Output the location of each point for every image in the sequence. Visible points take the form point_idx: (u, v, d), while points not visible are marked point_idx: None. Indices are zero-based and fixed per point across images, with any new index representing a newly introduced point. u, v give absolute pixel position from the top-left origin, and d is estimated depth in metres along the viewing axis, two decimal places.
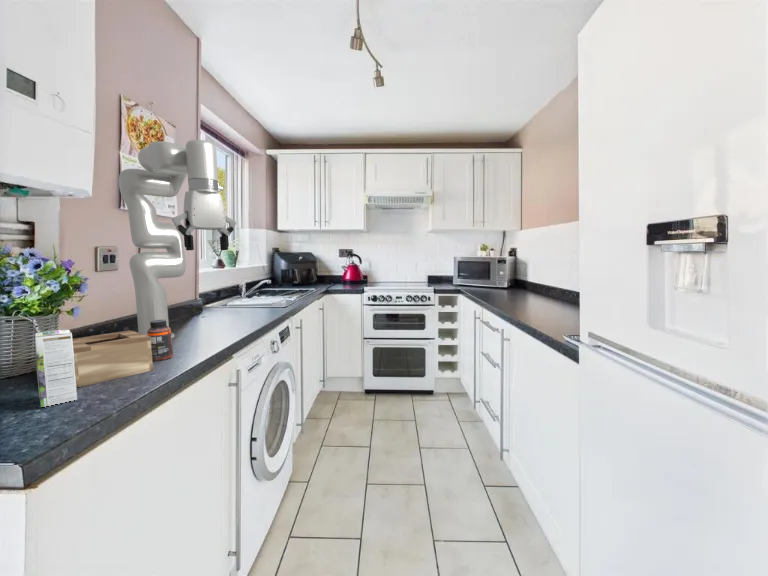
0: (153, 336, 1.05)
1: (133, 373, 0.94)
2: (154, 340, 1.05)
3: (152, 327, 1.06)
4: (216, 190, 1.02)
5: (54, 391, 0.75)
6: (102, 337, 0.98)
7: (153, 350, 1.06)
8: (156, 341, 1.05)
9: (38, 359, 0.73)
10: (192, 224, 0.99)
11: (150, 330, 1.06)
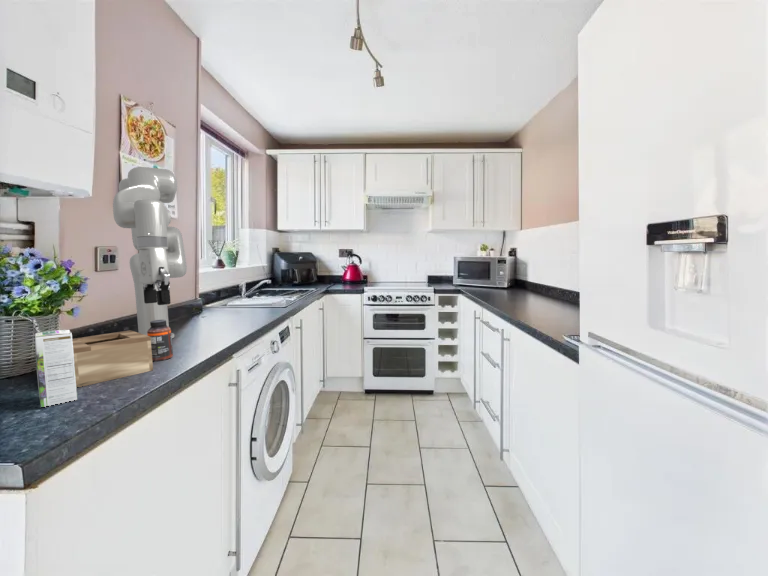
0: (153, 336, 1.05)
1: (133, 373, 0.94)
2: (154, 340, 1.05)
3: (152, 327, 1.06)
4: None
5: (54, 391, 0.75)
6: (102, 337, 0.98)
7: (153, 350, 1.06)
8: (156, 341, 1.05)
9: (38, 359, 0.73)
10: None
11: (150, 330, 1.06)
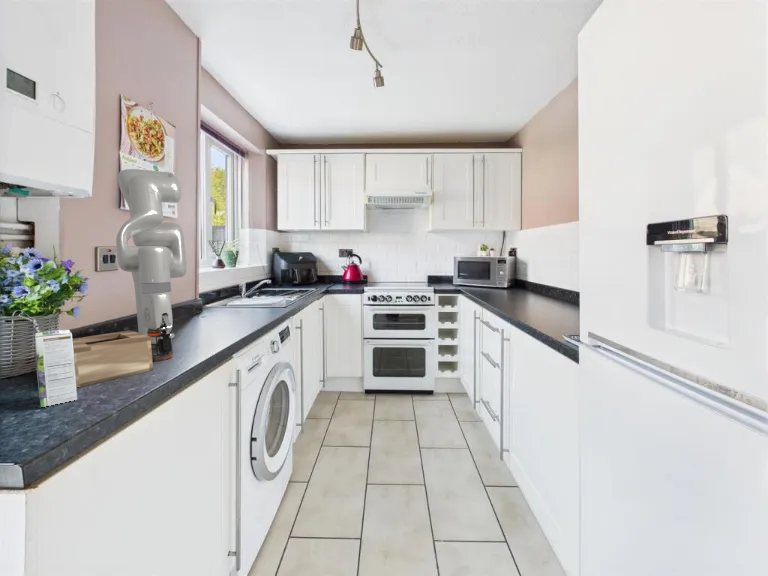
0: (153, 336, 1.05)
1: (133, 373, 0.94)
2: (154, 340, 1.05)
3: None
4: None
5: (54, 391, 0.75)
6: (102, 337, 0.98)
7: (153, 350, 1.06)
8: (156, 341, 1.05)
9: (38, 359, 0.73)
10: None
11: (150, 330, 1.06)
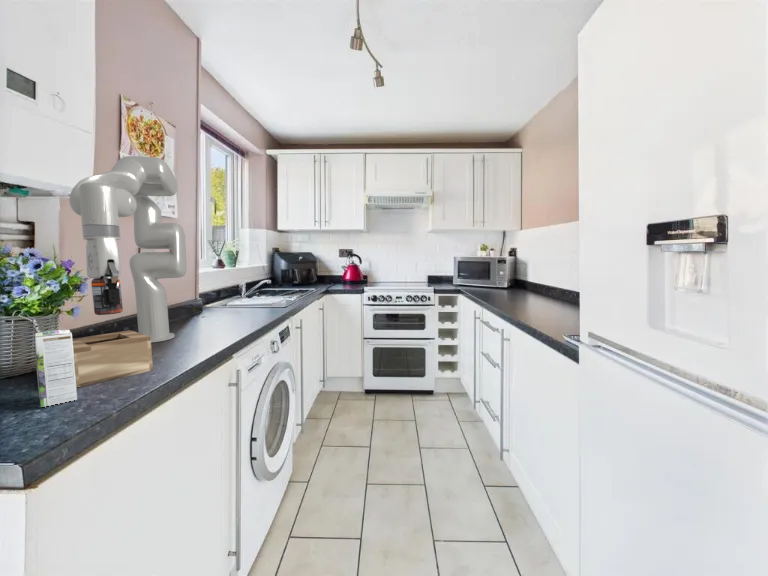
0: (98, 286, 0.92)
1: (133, 373, 0.94)
2: (99, 291, 0.92)
3: None
4: None
5: (54, 391, 0.75)
6: (102, 337, 0.98)
7: (97, 303, 0.93)
8: (101, 292, 0.92)
9: (38, 359, 0.73)
10: (119, 274, 0.94)
11: (94, 279, 0.93)
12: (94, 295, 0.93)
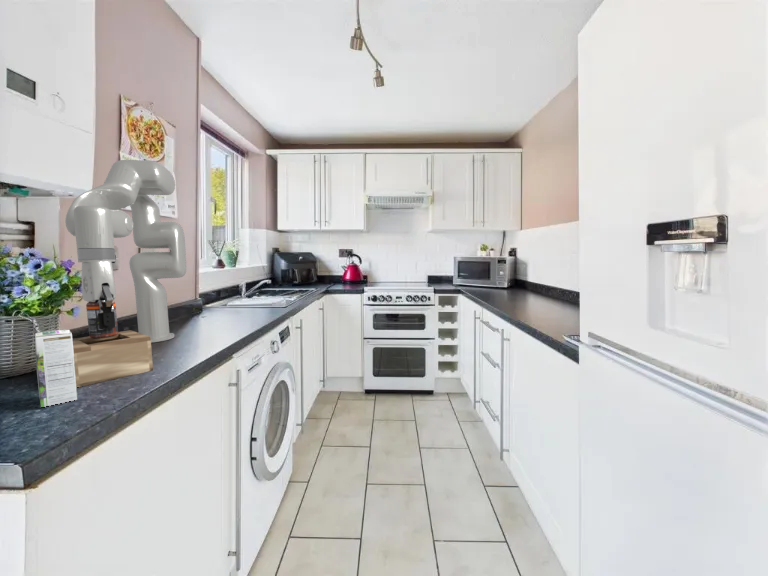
0: (92, 309, 0.91)
1: (133, 373, 0.94)
2: (93, 314, 0.91)
3: None
4: None
5: (54, 391, 0.75)
6: None
7: (92, 326, 0.92)
8: (95, 315, 0.92)
9: (38, 359, 0.73)
10: (114, 297, 0.93)
11: (89, 303, 0.92)
12: (89, 319, 0.92)
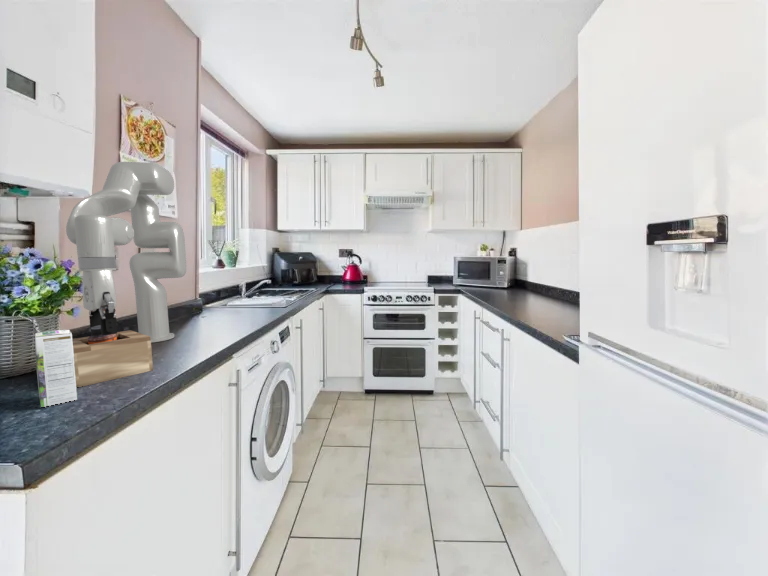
0: None
1: (133, 373, 0.94)
2: None
3: (92, 335, 0.93)
4: None
5: (54, 391, 0.75)
6: None
7: None
8: None
9: (38, 359, 0.73)
10: (115, 305, 0.93)
11: (90, 338, 0.92)
12: None
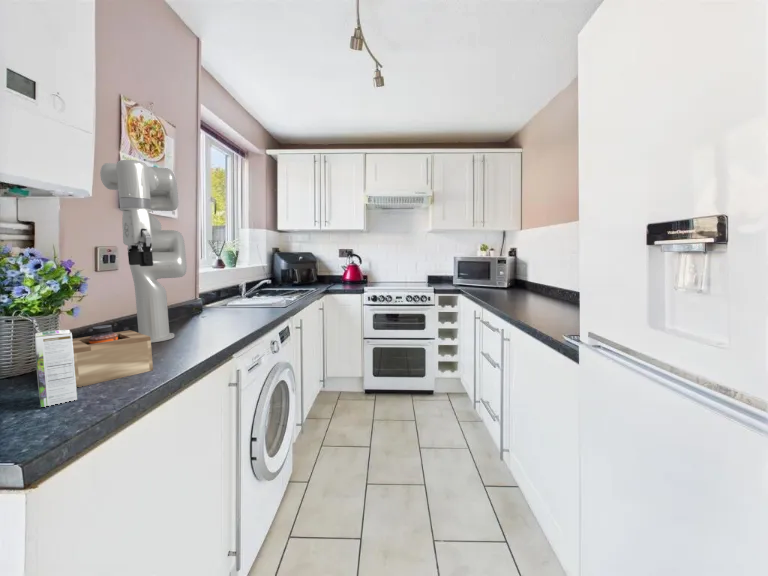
0: None
1: (133, 373, 0.94)
2: None
3: (94, 334, 0.94)
4: None
5: (54, 391, 0.75)
6: None
7: None
8: None
9: (38, 359, 0.73)
10: (151, 242, 1.06)
11: (92, 337, 0.93)
12: None
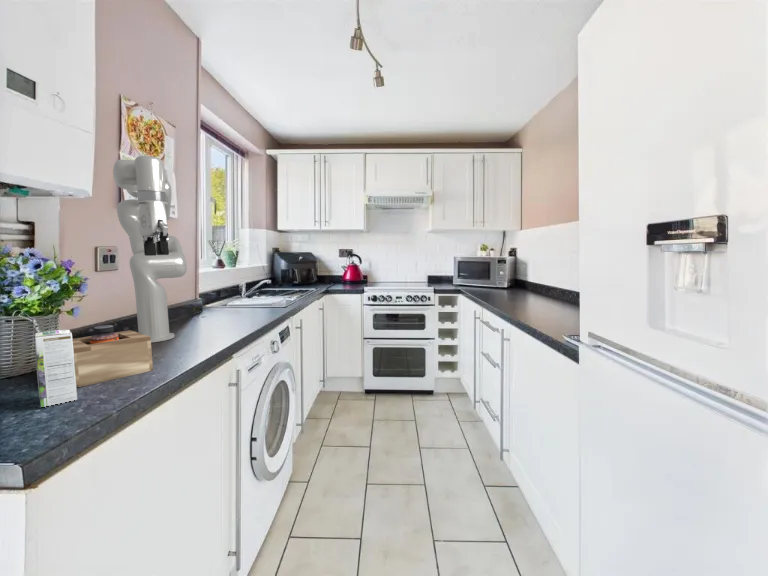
0: None
1: (133, 373, 0.94)
2: None
3: (96, 334, 0.94)
4: None
5: (54, 391, 0.75)
6: None
7: None
8: None
9: (38, 359, 0.73)
10: None
11: (93, 337, 0.93)
12: None
